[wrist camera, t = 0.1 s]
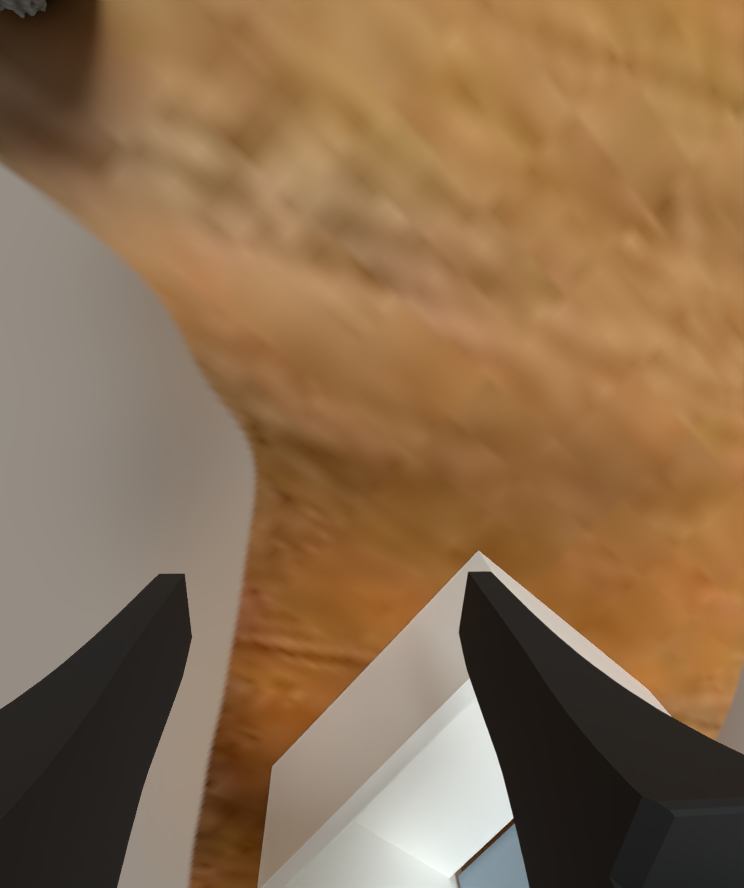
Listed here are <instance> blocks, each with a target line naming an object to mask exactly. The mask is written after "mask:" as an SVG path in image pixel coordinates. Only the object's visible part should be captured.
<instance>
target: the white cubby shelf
mask: <svg viewBox="0 0 744 888" xmlns="http://www.w3.org/2000/svg"><path fill="white" fill-rule="evenodd" d="M474 571H491V572H492V573H493V574H494V575H495V576H496V577H497V578H498V579H499V580H500V581H501V582H502V583H503V584H504V585H505V586H506V587H507V588H508V589H509V590H510V591H511V592H512V593H513V594H514V595H515V596H516V597H517V598H518V599H519V600H520V601H521V602H522V603H523V604H524V605H525V606H526V607H527V608H528V609H529V610H530V611H531V612H532V613H533V614H534V615H536V616H537V617H538V618H539V619H540V620H541V621H542V622H543V623H544V624H545V625H546V626H547V627H548V628H550V629H551V630H552V631H553V632H554V633H555V634H556V635H557V636H559V637H560V638H561V639H562V640H563V641H564V642H566V643H567V644H568V645H569V646H570V647H572V648H573V649H574V650H575V651H576V652H577V653H579V654H580V655H581V656H582V657H584V658H585V659H586V660H587V661H589V662H590V663H591V664H593V665H594V666H595V667H597V668H598V669H599V670H601V671H602V672H604V673H605V674H606V675H608V676H609V677H610V678H612V679H613V680H614V681H616V682H617V683H619V684H620V685H622V686H623V687H625V688H626V689H628V690H629V691H631V692H632V693H634V694H635V695H637V696H638V697H640V698H642V699H643V700H645V701H646V702H648V703H649V704H651V705H653V706H654V707H656V708H657V709H659V710H661V711H662V712H664V713H666V714H667V715H669V716H670V714H669V713H668V712H667V711H666V710H665V709H664V707H663V706H662V705H661V704H660V703H659V702H658V700H657V699H656V698H655V697H654V696H653V695H652V694H651V692H650V691H649V690H648V689H647V688H645V687H644V686H643V685H642V684H641V683H639V682H638V681H637V680H636V679H635V678H633V677H632V676H631V675H630V674H628V673H627V672H626V671H625V670H624V669H622V668H621V667H620V666H619V665H617V664H616V663H615V662H614V661H613V660H611V659H610V658H609V657H608V656H606V655H605V654H604V653H603V652H602V651H600V650H599V649H598V648H597V647H596V646H594V645H593V644H592V643H591V642H589V641H588V640H587V639H586V638H585V637H583V636H582V635H581V634H580V633H578V632H577V631H576V630H575V629H574V628H572V627H571V626H570V625H569V624H567V623H566V622H565V621H564V620H563V619H561V618H560V617H559V616H558V615H556V614H555V613H554V612H553V611H552V610H550V609H549V608H548V607H547V606H546V605H544V604H543V603H542V602H541V601H539V600H538V599H537V598H536V597H535V596H533V595H532V594H531V593H530V592H528V591H527V590H526V589H525V588H524V587H522V586H521V585H520V584H519V583H517V582H516V581H515V580H514V579H513V578H511V577H510V576H509V575H508V574H507V573H505V572H504V571H503V570H502V569H500V568H499V567H498V566H497V565H496V564H494V563H493V562H492V561H491V560H489V559H488V558H487V557H486V556H485V555H483V554H482V553H481V552H480V551H477V552H476V553H475V554H474V555H473V556H472V558H471V559H470V560H469V561H468V562H467V563H466V564H465V565H464V566H463V567H462V568H461V569H460V570H459V571H458V572H457V573H456V574H455V575H454V576H453V577H452V578H451V580H450V581H449V582H448V583H447V584H446V585H445V586H444V587H443V588H442V589H441V590H440V591H439V592H438V593H437V594H436V595H435V596H434V597H433V598H432V599H431V600H430V602H429V603H428V604H427V605H426V606H425V607H424V608H423V609H422V610H421V611H420V612H419V613H418V614H417V615H416V616H415V617H414V618H413V619H412V620H411V621H410V622H409V624H408V625H407V626H406V627H405V628H404V629H403V630H402V631H401V632H400V633H399V634H398V635H397V636H396V637H395V638H394V639H393V640H392V641H391V642H390V643H389V644H388V646H387V647H386V648H385V649H384V650H383V651H382V652H381V653H380V654H379V655H378V656H377V657H376V658H375V659H374V660H373V661H372V662H371V663H370V664H369V665H368V666H367V668H366V669H365V670H364V671H363V672H362V673H361V674H360V675H359V676H358V677H357V678H356V679H355V680H354V681H353V682H352V683H351V684H350V685H349V686H348V687H347V688H346V689H345V691H344V692H343V693H342V694H341V695H340V696H339V697H338V698H337V699H336V700H335V701H334V702H333V703H332V704H331V705H330V706H329V707H328V708H327V709H326V710H325V711H324V713H323V714H322V715H321V716H320V717H319V718H318V719H317V720H316V721H315V722H314V723H313V724H312V725H311V726H310V727H309V728H308V729H307V730H306V731H305V732H304V733H303V735H302V736H301V737H300V738H299V739H298V740H297V741H296V742H295V743H294V744H293V745H292V746H291V747H290V748H289V749H288V750H287V751H286V752H285V753H284V754H283V755H282V757H281V758H280V759H279V760H278V761H277V762H276V763H275V764H274V765H273V766H272V771H271V779H270V787H269V796H268V804H267V812H266V820H265V829H264V837H263V845H262V853H261V861H260V870H259V878H258V886H257V888H461V887H460V883H459V878H458V875H460V874H461V873H462V871H461V867H462V866H463V865H464V864H465V863H466V862H467V861H468V860H469V859H470V858H471V857H473V856H474V855H475V854H476V853H477V852H478V851H479V850H480V849H481V848H482V847H483V846H484V845H485V844H486V843H487V842H489V841H490V840H491V839H492V838H493V837H494V836H495V835H496V834H497V833H498V832H499V831H500V830H501V829H502V828H504V827H505V826H506V825H507V824H508V823H509V822H510V821H511V820H512V819H513V814H512V810H511V806H510V802H509V798H508V794H507V790H506V786H505V782H504V778H503V774H502V771H501V768H500V765H499V761H498V758H497V755H496V752H495V749H494V746H493V744H492V741H491V738H490V735H489V732H488V729H487V727H486V724H485V721H484V718H483V715H482V712H481V710H480V707H479V704H478V701H477V698H476V695H475V692H474V690H473V687H472V684H471V681H470V678H469V675H468V672H467V669H466V664H465V660H464V656H463V651H462V646H461V642H460V637H459V626H460V620H461V613H462V607H463V600H464V594H465V588H466V581H467V575H468V572H474Z"/></svg>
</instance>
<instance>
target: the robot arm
mask: <svg viewBox="0 0 744 888" xmlns="http://www.w3.org/2000/svg"><path fill="white" fill-rule="evenodd" d="M459 637H460V642H461V646H462V651H463V656H464V660H465V664H466V669H467V672H468V675H469V678H470V681H471V684H472V687H473V690H474V692H475V695H476V698H477V701H478V704H479V707H480V710H481V712H482V715H483V718H484V721H485V724H486V727H487V729H488V732H489V735H490V738H491V741H492V744H493V746H494V749H495V752H496V755H497V758H498V761H499V765H500V768H501V771H502V774H503V778H504V782H505V786H506V790H507V794H508V798H509V802H510V806H511V810H512V814H513V818H514V822H515V827H516V831H517V835H518V839H519V844H520V848H521V852H522V857H523V861H524V865H525V870H526V874H527V879H528V884H529V888H744V755H743V754H741V753H739V752H737V751H735V750H733V749H731V748H728V747H727V746H725V745H723V744H721V743H718V742H716V741H714V740H713V739H711V738H709V737H707V736H705V735H703V734H701V733H700V732H698V731H696V730H694V729H692V728H690V727H689V726H687V725H685V724H683V723H681V722H679V721H678V720H676V719H674V718H673V717H671V716H669V715H667V714H666V713H664V712H662V711H661V710H659V709H657V708H656V707H654V706H653V705H651V704H649V703H648V702H646V701H645V700H643V699H642V698H640V697H638V696H637V695H635V694H634V693H632V692H631V691H629V690H628V689H626V688H625V687H623V686H622V685H620V684H619V683H617V682H616V681H614V680H613V679H612V678H610V677H609V676H608V675H606V674H605V673H604V672H602V671H601V670H599V669H598V668H597V667H595V666H594V665H593V664H591V663H590V662H589V661H587V660H586V659H585V658H584V657H582V656H581V655H580V654H579V653H577V652H576V651H575V650H574V649H573V648H572V647H570V646H569V645H568V644H567V643H566V642H564V641H563V640H562V639H561V638H560V637H559V636H557V635H556V634H555V633H554V632H553V631H552V630H551V629H550V628H548V627H547V626H546V625H545V624H544V623H543V622H542V621H541V620H540V619H539V618H538V617H537V616H536V615H534V614H533V613H532V612H531V611H530V610H529V609H528V608H527V607H526V606H525V605H524V604H523V603H522V602H521V601H520V600H519V599H518V598H517V597H516V596H515V595H514V594H513V593H512V592H511V591H510V590H509V589H508V588H507V587H506V586H505V585H504V584H503V583H502V582H501V581H500V580H499V579H498V578H497V577H496V576H495V575H494V574H493V573H492V572H491V571H474V572H468V575H467V581H466V588H465V594H464V600H463V607H462V613H461V620H460V626H459ZM191 639H192V635H191V626H190V617H189V608H188V599H187V592H186V582H185V574H159V575H158V576H157V577H155V578H154V579H153V580H152V581H151V582H150V583H149V584H148V585H147V586H146V587H145V588H144V589H143V590H142V591H141V592H140V593H139V594H138V595H137V596H136V597H135V598H134V599H133V600H132V601H131V602H130V603H129V604H128V605H127V606H126V607H125V608H124V609H123V610H122V611H121V612H120V613H119V614H118V615H117V616H115V617H114V618H113V619H112V620H111V621H110V622H109V623H108V624H107V625H106V626H105V627H104V628H103V629H102V630H101V631H99V632H98V633H97V634H96V635H95V636H94V637H93V638H92V639H91V640H90V641H88V642H87V643H86V644H85V645H84V646H82V647H81V648H80V649H79V650H78V651H77V652H76V653H74V654H73V655H72V656H71V657H70V658H69V659H67V660H66V661H65V662H64V663H63V664H61V665H60V666H59V667H58V668H57V669H56V670H54V671H53V672H51V673H50V674H49V675H48V676H47V677H45V678H44V679H42V680H41V681H40V682H39V683H37V684H36V685H34V686H33V687H32V688H30V689H29V690H27V691H26V692H25V693H23V694H22V695H21V696H19V697H18V698H16V699H15V700H14V701H12V702H11V703H9V704H8V705H6V706H5V707H3V708H2V709H0V888H117V885H118V881H119V877H120V873H121V868H122V865H123V861H124V857H125V853H126V849H127V845H128V841H129V837H130V834H131V829H132V826H133V822H134V819H135V815H136V811H137V807H138V803H139V800H140V796H141V792H142V789H143V786H144V783H145V780H146V777H147V774H148V770H149V768H150V765H151V762H152V759H153V757H154V754H155V751H156V748H157V746H158V743H159V741H160V738H161V735H162V732H163V729H164V727H165V724H166V722H167V719H168V716H169V713H170V711H171V708H172V705H173V702H174V700H175V697H176V694H177V691H178V688H179V686H180V683H181V680H182V677H183V673H184V669H185V665H186V661H187V657H188V652H189V648H190V643H191Z"/></svg>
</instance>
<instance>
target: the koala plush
mask: <svg viewBox="0 0 744 888" xmlns="http://www.w3.org/2000/svg"><path fill="white" fill-rule="evenodd" d="M46 6H47V3H46V0H0V11H2V10H4V9H5V8H6V9H8V10H13V11H14V12H15V13H16V14H18V15H19V16H20V17H21V18H24V14H25V13H28V14H29V15H31V16H34V15H35V14H36V12H37V11H38V10H41V11H45V12H46Z"/></svg>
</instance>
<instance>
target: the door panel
mask: <svg viewBox="0 0 744 888" xmlns="http://www.w3.org/2000/svg"><path fill="white" fill-rule="evenodd" d="M458 878H459V883H460V887H461V888H529V884H528V879H527V874H526V870H525V865H524V861H523V857H522V852H521V848H520V844H519V839H518V835H517V831H516V827H515V823H514V824H513V825H512V826H511V827H510V828H509V829H508V830H507V831H506V832H505V833H503V834H502V835H501V836H500V837H499V838H498V839H497V840H496V841H495V842H494V843H493V844H492V845H491V846H490V847H488V848H487V849H486V850H485V851H484V852H483V853H482V854H481V855H480V856H479V857H478V858H477V859H476V860H475V861H473V862H472V863H471V864H470V865H469V866H468V867H467V868H466V869H465V870H464V871H463V872H462V873H461V874H460V875H458Z"/></svg>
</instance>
